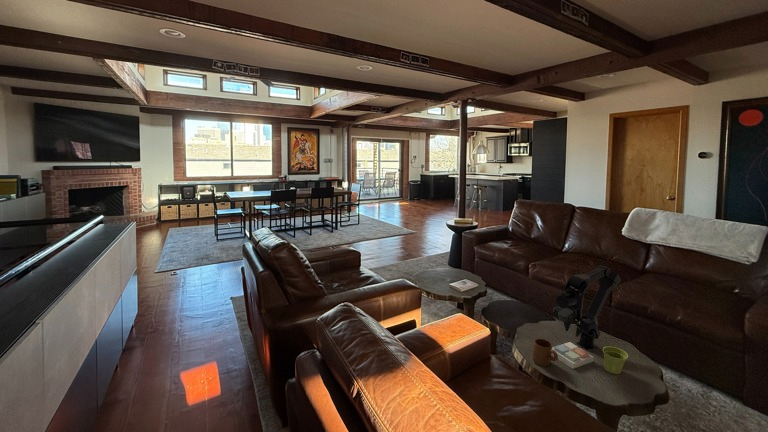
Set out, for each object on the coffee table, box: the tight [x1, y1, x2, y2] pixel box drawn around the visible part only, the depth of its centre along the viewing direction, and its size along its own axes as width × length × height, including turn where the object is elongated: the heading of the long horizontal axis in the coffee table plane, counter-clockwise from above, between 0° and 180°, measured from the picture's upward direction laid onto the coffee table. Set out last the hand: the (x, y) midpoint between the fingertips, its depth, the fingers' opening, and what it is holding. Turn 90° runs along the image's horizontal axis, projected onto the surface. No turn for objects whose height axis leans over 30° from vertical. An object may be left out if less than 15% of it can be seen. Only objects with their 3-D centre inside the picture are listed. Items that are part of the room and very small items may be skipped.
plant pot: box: [602, 346, 629, 375], centre depth 159 cm, size 9×9×9 cm
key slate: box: [553, 344, 569, 355], centre depth 170 cm, size 4×4×2 cm
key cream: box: [563, 341, 579, 351], centre depth 172 cm, size 4×4×2 cm
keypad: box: [551, 343, 594, 370], centre depth 169 cm, size 13×13×3 cm
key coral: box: [574, 347, 590, 359], centre depth 167 cm, size 4×4×2 cm
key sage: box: [565, 351, 580, 362], centre depth 165 cm, size 4×4×2 cm
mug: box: [532, 338, 558, 367], centre depth 163 cm, size 12×8×9 cm, turn 22°
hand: (571, 333), depth 170 cm, fingers open, 5 cm apart
